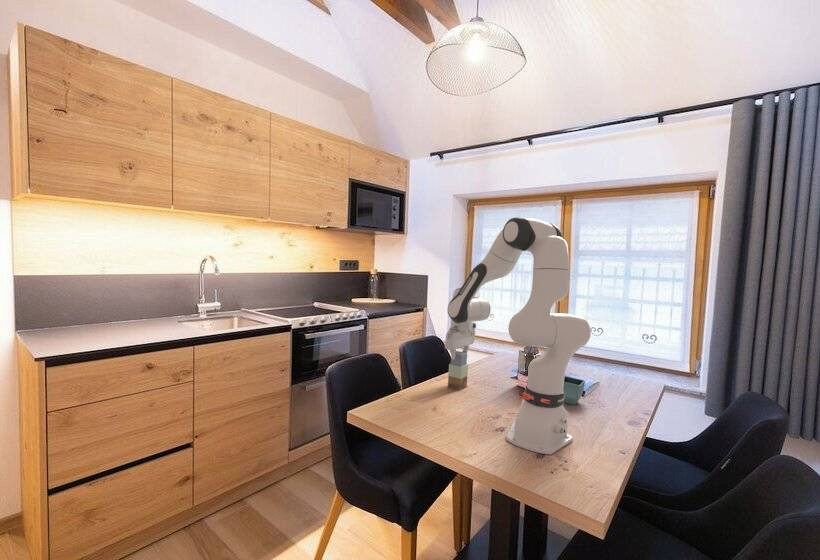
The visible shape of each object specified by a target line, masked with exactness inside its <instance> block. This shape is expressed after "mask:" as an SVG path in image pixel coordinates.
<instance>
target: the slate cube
mask: <svg viewBox="0 0 820 560" xmlns="http://www.w3.org/2000/svg"><path fill="white" fill-rule="evenodd" d="M455 354H456V355H457V357H456V359H451V358H450V364H451V365H456V366H460V367H462V366H464V365H467V364H468V352H467V353H464V352H462V351H458V350H456V352H455Z"/></svg>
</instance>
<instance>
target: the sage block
mask: <svg viewBox="0 0 820 560" xmlns="http://www.w3.org/2000/svg"><path fill="white" fill-rule="evenodd" d="M468 370H469V364H468V363H467V365H464V366H462V367H460V366H456V365H451V363H449V364H448V376H451V377H455V378H459V379H462V378H464V377H466V376H467V377H468V373H469V372H468Z"/></svg>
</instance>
